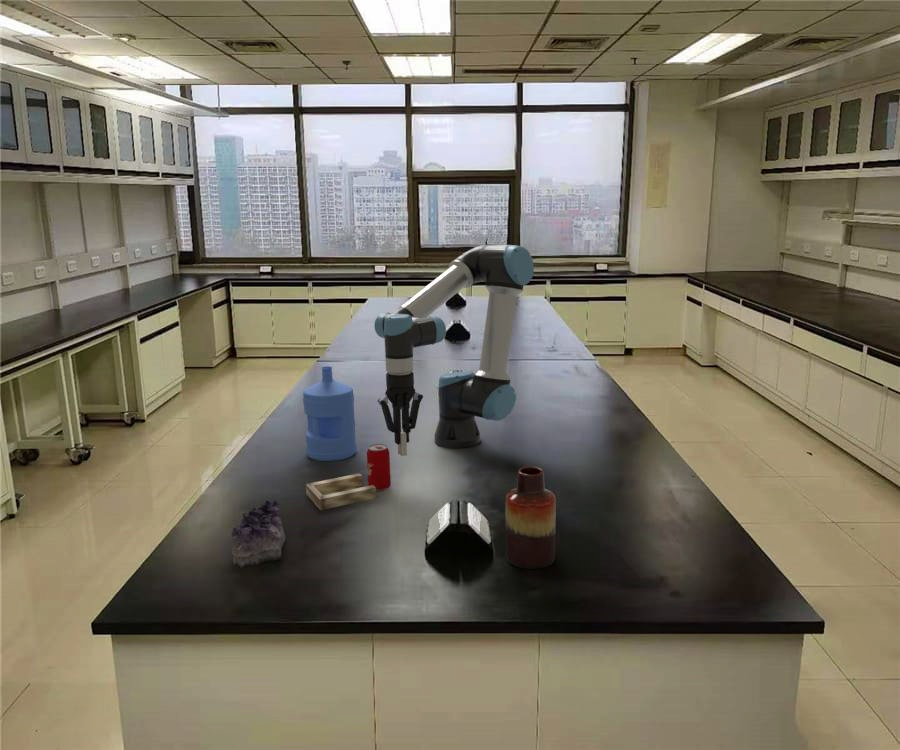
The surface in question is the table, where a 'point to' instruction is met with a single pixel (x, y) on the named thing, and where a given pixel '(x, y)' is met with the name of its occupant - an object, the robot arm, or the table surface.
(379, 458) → the beverage can
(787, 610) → the table surface
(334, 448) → the water jug
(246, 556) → the geode
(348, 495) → the u rest
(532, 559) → the vase
